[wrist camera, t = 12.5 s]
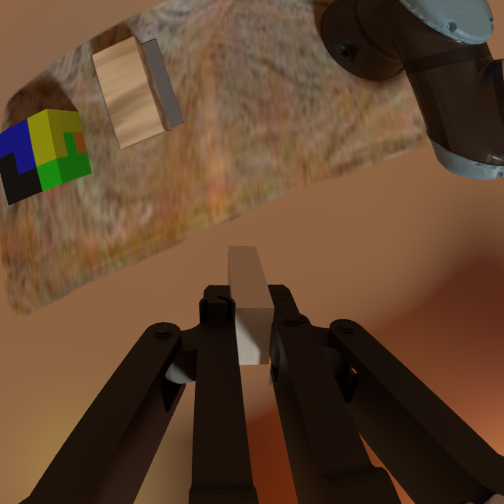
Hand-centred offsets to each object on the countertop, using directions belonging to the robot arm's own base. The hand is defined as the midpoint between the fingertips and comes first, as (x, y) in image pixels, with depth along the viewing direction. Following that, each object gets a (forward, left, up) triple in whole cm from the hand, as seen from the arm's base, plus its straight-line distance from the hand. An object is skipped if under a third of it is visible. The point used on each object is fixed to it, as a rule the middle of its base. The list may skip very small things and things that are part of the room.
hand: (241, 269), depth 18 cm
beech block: (+11, -7, -26) cm, 29 cm away
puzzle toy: (+27, -6, -30) cm, 41 cm away
